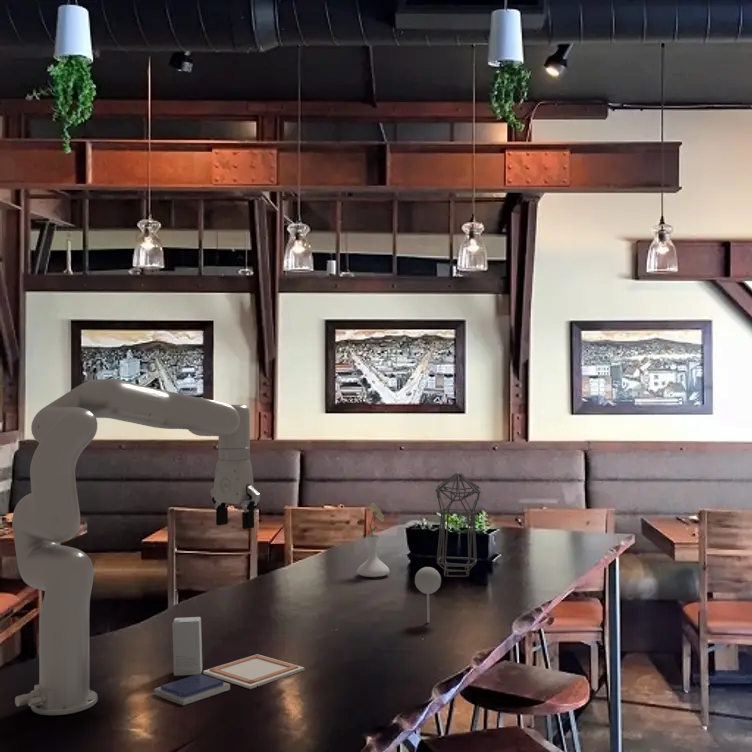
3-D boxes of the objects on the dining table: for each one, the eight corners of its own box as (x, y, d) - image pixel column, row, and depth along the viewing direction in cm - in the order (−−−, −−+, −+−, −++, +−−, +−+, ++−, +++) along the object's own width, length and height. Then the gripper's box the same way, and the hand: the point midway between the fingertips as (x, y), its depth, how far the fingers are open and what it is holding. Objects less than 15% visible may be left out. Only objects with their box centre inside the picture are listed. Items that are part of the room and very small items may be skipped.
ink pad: (183, 705, 172) (183, 696, 172) (154, 694, 178) (153, 685, 178) (230, 689, 181) (230, 681, 181) (200, 679, 187) (200, 671, 187)
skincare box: (202, 669, 194) (202, 615, 195) (200, 675, 190) (200, 620, 190) (175, 670, 194) (174, 616, 194) (172, 677, 189) (172, 621, 190)
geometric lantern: (435, 569, 304) (437, 471, 305) (480, 571, 302) (481, 472, 303) (432, 578, 289) (434, 474, 290) (479, 580, 286) (480, 475, 288)
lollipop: (446, 622, 233) (446, 566, 233) (430, 627, 228) (429, 570, 228) (426, 617, 238) (426, 563, 238) (409, 622, 233) (409, 567, 233)
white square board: (250, 689, 181) (250, 684, 181) (203, 673, 191) (203, 669, 191) (304, 670, 193) (304, 666, 193) (257, 656, 203) (257, 652, 203)
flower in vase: (389, 579, 288) (389, 505, 289) (356, 579, 288) (355, 505, 289) (389, 571, 301) (389, 500, 302) (357, 571, 301) (356, 500, 302)
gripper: (199, 455, 210) (200, 525, 210) (246, 458, 199) (246, 532, 198) (223, 453, 216) (224, 521, 215) (270, 456, 204) (270, 527, 204)
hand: (234, 526), depth 207 cm, fingers open, 9 cm apart
